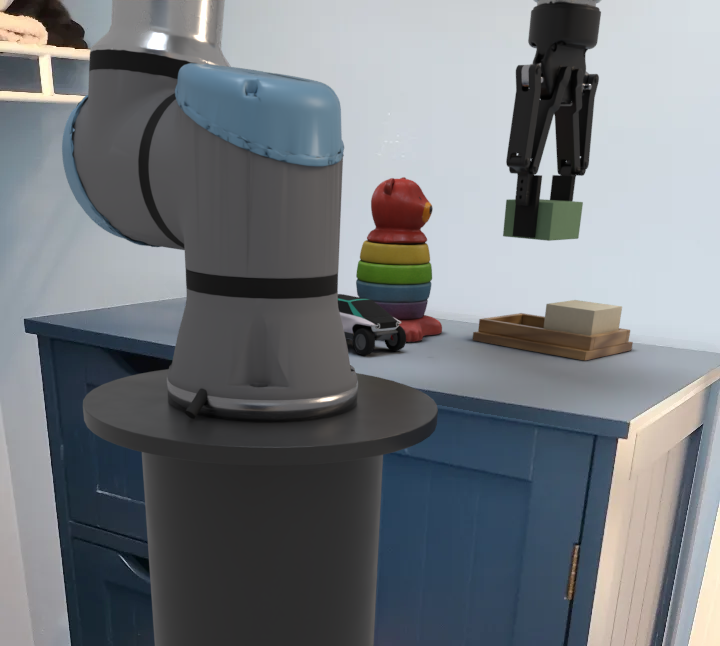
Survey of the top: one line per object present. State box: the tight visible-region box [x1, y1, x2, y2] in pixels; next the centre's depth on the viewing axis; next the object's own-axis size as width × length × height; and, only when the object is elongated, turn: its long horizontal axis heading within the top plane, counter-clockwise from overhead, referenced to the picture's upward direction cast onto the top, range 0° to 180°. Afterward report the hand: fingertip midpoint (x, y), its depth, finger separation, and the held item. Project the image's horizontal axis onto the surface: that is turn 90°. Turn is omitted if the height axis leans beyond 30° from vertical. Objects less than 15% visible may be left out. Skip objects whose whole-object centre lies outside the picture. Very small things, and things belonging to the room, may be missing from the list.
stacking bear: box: [355, 176, 443, 343], centre depth 116 cm, size 11×10×18 cm
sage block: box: [502, 198, 584, 242], centre depth 112 cm, size 6×6×4 cm
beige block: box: [544, 299, 623, 336], centre depth 113 cm, size 6×6×4 cm
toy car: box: [338, 293, 407, 356], centre depth 110 cm, size 6×12×5 cm, turn 42°
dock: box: [472, 312, 634, 362], centre depth 116 cm, size 11×16×2 cm
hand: (540, 235), depth 113 cm, fingers closed on sage block, 6 cm apart
